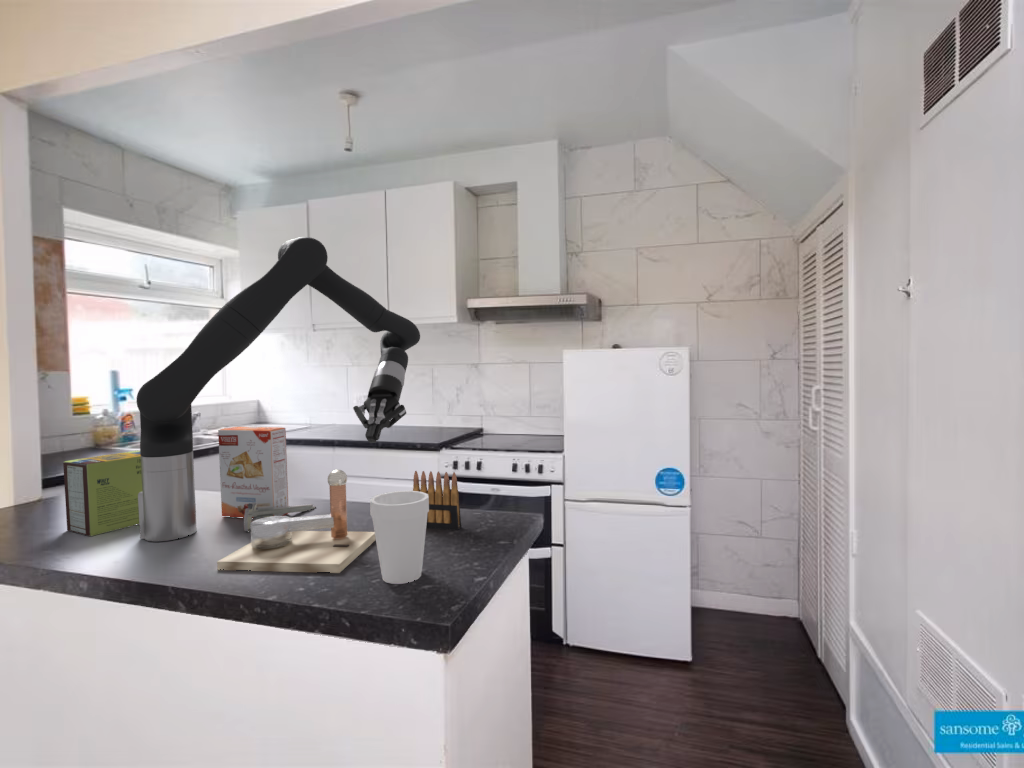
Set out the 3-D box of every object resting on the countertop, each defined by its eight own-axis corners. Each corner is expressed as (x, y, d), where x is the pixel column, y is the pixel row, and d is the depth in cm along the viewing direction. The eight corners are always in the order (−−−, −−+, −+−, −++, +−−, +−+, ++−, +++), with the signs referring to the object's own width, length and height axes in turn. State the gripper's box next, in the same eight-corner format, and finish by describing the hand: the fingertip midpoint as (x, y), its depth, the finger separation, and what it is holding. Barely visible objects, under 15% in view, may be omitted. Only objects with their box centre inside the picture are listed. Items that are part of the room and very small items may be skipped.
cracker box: (220, 518, 123) (216, 429, 122) (238, 511, 128) (235, 425, 128) (273, 521, 119) (269, 429, 119) (289, 514, 125) (286, 426, 125)
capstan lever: (247, 550, 95) (244, 479, 94) (255, 538, 101) (252, 472, 101) (348, 540, 99) (346, 472, 99) (349, 529, 106) (347, 465, 106)
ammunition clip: (411, 526, 113) (409, 471, 113) (415, 524, 115) (413, 469, 115) (458, 530, 111) (456, 473, 110) (461, 527, 112) (459, 471, 112)
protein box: (166, 517, 125) (163, 452, 124) (89, 537, 111) (85, 464, 110) (141, 512, 130) (138, 449, 129) (65, 531, 116) (61, 460, 115)
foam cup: (432, 584, 83) (429, 502, 83) (371, 591, 81) (368, 507, 81) (428, 562, 93) (426, 489, 92) (374, 568, 91) (371, 492, 90)
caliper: (248, 534, 111) (246, 504, 111) (244, 533, 112) (242, 504, 112) (316, 508, 130) (315, 483, 130) (313, 508, 131) (312, 483, 131)
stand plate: (217, 570, 91) (217, 560, 91) (272, 537, 108) (272, 529, 108) (339, 573, 89) (339, 563, 89) (376, 539, 106) (376, 530, 106)
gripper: (357, 374, 128) (337, 431, 117) (409, 372, 127) (395, 430, 115) (366, 394, 134) (348, 450, 122) (417, 392, 132) (404, 449, 121)
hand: (371, 440), depth 119 cm, fingers closed
